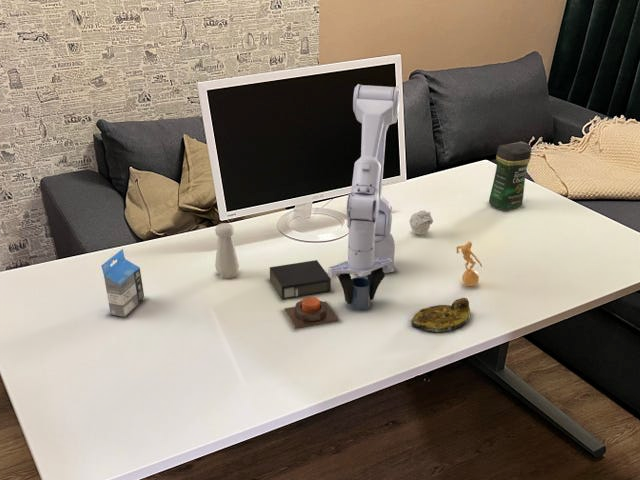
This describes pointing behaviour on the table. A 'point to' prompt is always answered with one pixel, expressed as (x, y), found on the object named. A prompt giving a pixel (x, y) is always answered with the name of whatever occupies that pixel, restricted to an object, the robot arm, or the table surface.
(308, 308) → the button
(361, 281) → the cup
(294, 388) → the table surface
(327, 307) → the control pad
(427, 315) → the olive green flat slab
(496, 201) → the coffee jar
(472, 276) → the figurine
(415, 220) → the crumpled paper ball
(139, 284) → the blue and grey carton
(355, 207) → the robot arm
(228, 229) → the salt shaker
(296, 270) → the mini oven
